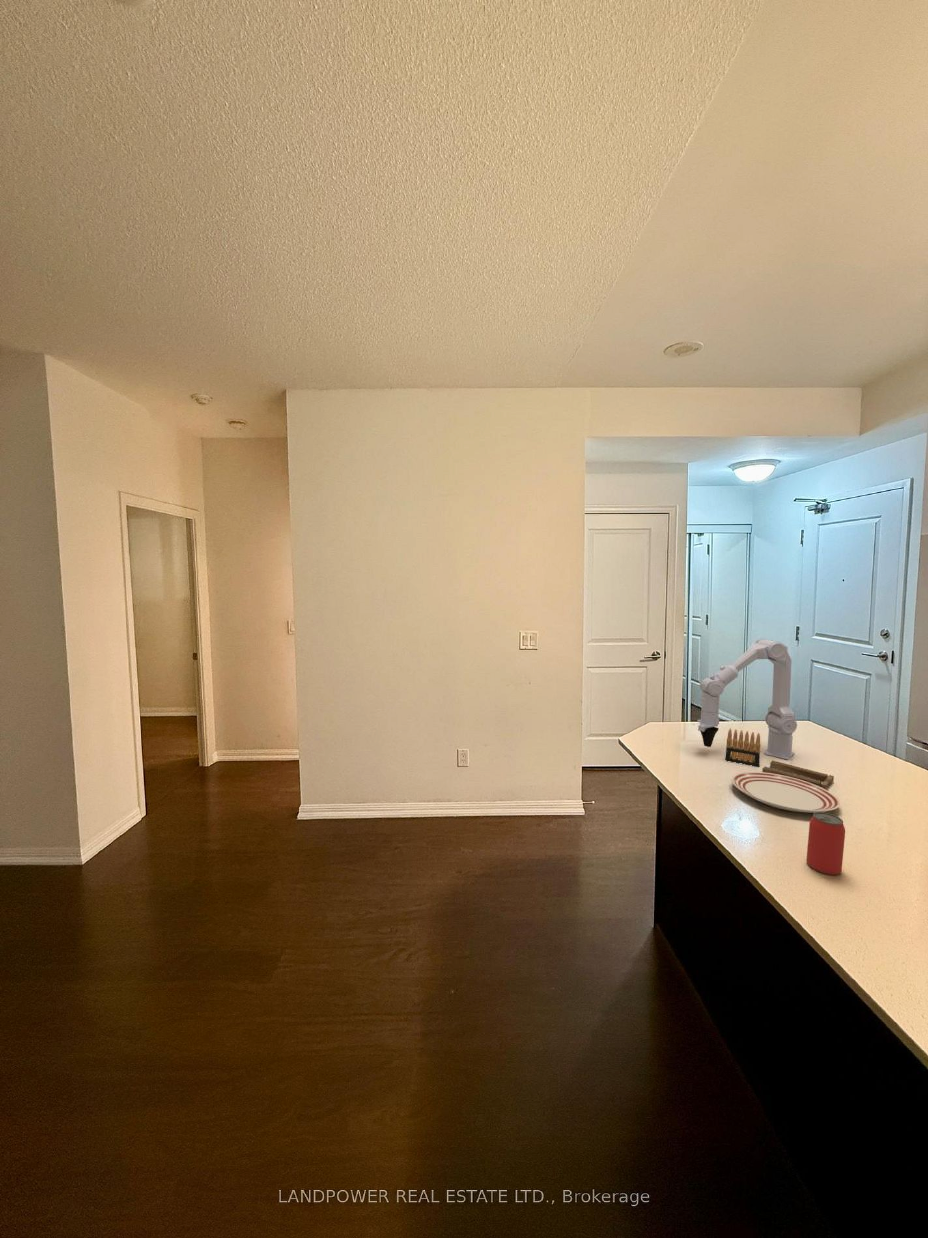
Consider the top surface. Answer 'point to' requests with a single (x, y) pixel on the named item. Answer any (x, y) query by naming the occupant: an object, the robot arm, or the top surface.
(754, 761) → the ammunition clip
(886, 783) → the top surface
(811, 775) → the guide rails
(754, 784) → the dinner plate
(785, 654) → the robot arm
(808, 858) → the beer can
